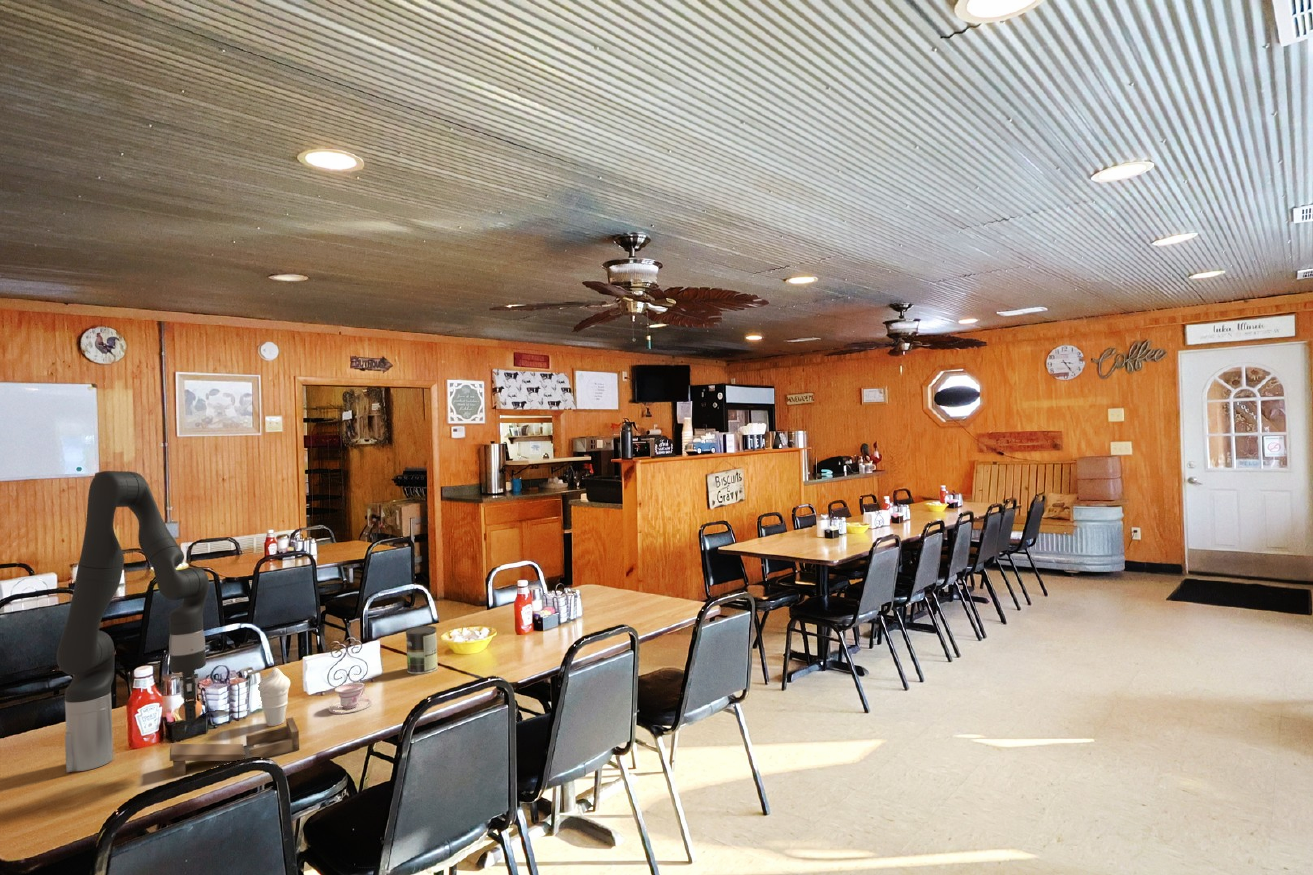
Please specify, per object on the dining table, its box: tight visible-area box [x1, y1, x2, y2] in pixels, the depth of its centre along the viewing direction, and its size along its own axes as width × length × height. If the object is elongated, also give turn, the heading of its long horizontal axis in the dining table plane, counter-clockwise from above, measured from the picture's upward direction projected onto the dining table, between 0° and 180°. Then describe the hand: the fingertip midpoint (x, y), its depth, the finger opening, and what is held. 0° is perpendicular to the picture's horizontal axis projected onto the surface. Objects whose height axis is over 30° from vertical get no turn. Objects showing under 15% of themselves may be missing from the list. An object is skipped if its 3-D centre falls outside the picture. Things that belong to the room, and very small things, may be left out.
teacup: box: [328, 682, 373, 715], centre depth 219 cm, size 12×12×6 cm
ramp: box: [169, 743, 246, 778], centre depth 183 cm, size 16×8×6 cm, turn 123°
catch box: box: [243, 716, 300, 759], centre depth 190 cm, size 12×12×5 cm
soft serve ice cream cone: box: [258, 667, 291, 727], centre depth 208 cm, size 8×8×16 cm
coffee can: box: [405, 625, 439, 675], centre depth 254 cm, size 10×10×14 cm
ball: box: [177, 699, 203, 721], centre depth 181 cm, size 5×5×5 cm
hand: (190, 717), depth 181 cm, fingers closed on ball, 5 cm apart
